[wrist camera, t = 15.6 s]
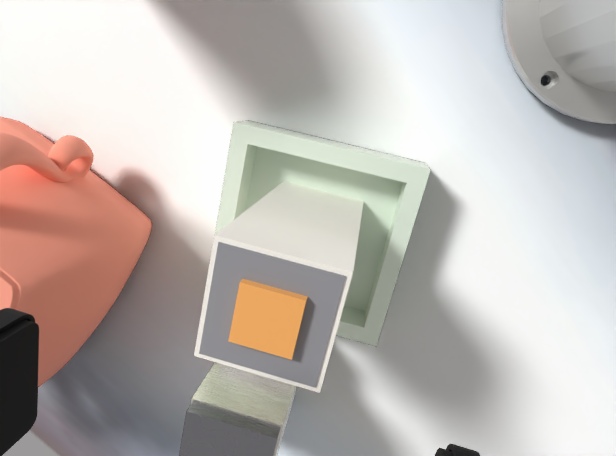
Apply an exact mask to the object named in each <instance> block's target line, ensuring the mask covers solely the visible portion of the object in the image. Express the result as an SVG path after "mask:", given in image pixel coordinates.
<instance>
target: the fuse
mask: <svg viewBox="0 0 616 456" xmlns="http://www.w3.org/2000/svg"><path fill="white" fill-rule="evenodd" d="M363 203H364V201H361V200H357V199H353V198H349V197H345V196H341V195H337V194H333V193H329V192H325V191H321V190H317V189H313V188H310V187H306V186H302V185H298V184H294V183H290V182H286V181H284V182H282V183H281V184H280V185H278V186H277V187H276V188H275V189H273V190H272V191H271V192H269V193H268V194H267V195H265V196H264V197H263V198H262V199H260V200H259V201H258V202H256V203H255V204H254V205H253V206H251V207H250V208H249V209H247V210H246V211H245V212H243V213H242V214H241V215H240V216H238V217H237V218H236V219H234V220H233V221H232V222H230V223H229V224H228V225H227V226H225V227H224V228H223V229H221V230H220V231H219V232H217V233H216V234H215V235H214V240H213V246H212V252H211V258H210V263H209V269H208V275H207V281H206V287H205V293H204V299H203V305H202V311H201V317H200V323H199V329H198V334H197V340H196V346H195V352H194V356H196V357H199V358H203V359H206V360H210V361H213V362H216V363H220V364H223V365H227V366H230V367H233V368H237V369H240V370H243V371H247V372H250V373H254V374H257V375H260V376H264V377H267V378H271V379H274V380H277V381H281V382H284V383H288V384H291V385H294V386H298V387H301V388H305V389H308V390H311V391H315V392H318V393H320V391H321V387H322V384H323V380H324V376H325V373H326V369H327V365H328V362H329V358H330V355H331V351H332V347H333V344H334V340H335V336H336V333H337V329H338V326H339V322H340V318H341V315H342V311H343V307H344V304H345V300H346V297H347V293H348V289H349V286H350V282H351V278H352V275H353V270H354V263H355V257H356V250H357V243H358V236H359V230H360V223H361V216H362V209H363Z"/></svg>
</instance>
